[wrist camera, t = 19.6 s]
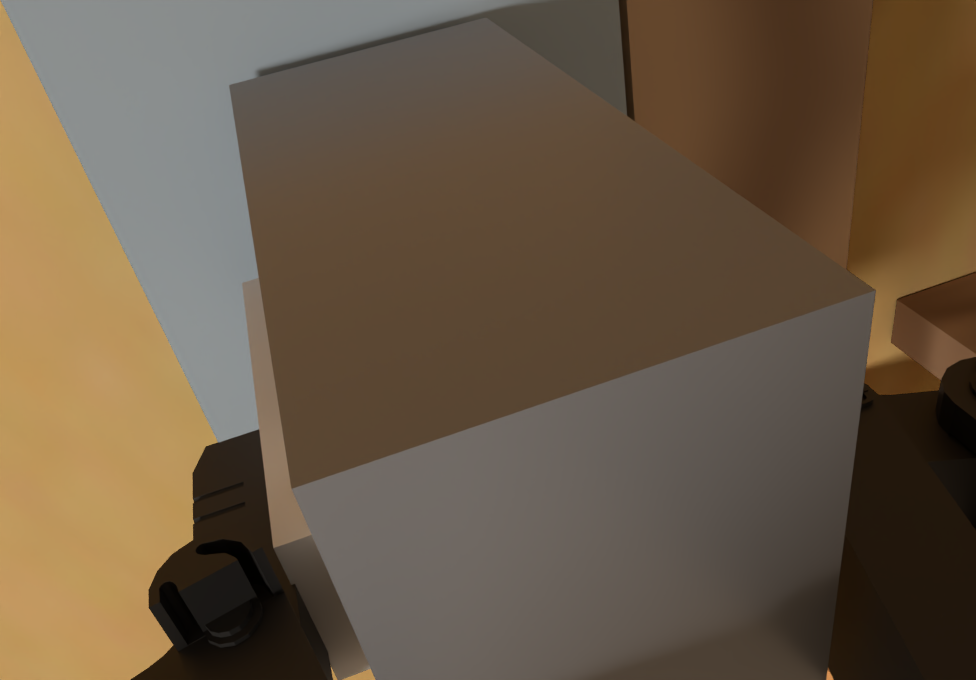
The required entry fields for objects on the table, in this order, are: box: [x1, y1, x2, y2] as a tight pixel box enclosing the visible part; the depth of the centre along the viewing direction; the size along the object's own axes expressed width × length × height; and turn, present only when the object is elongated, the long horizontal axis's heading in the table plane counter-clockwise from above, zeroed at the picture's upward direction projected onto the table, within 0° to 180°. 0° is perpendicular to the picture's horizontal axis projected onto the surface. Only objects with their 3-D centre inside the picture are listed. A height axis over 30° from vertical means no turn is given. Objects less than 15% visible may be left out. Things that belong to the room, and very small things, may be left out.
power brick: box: [229, 18, 876, 680], centre depth 12 cm, size 5×9×10 cm, turn 10°
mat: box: [1, 0, 627, 442], centre depth 17 cm, size 10×13×1 cm
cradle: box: [619, 0, 976, 380], centre depth 18 cm, size 12×23×3 cm, turn 10°
